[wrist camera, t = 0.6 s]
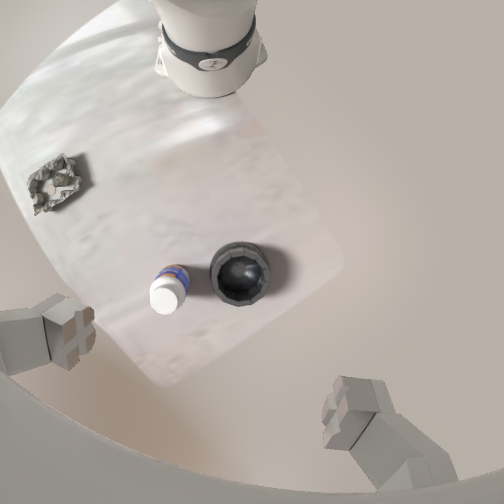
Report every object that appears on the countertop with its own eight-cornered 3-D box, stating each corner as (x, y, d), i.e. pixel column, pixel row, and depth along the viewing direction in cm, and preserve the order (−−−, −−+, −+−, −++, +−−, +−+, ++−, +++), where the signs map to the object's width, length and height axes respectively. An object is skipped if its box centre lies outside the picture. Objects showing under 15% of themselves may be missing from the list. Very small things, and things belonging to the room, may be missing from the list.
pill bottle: (181, 258, 47) (171, 275, 38) (195, 287, 49) (190, 310, 39) (153, 272, 47) (138, 291, 38) (168, 299, 49) (157, 324, 39)
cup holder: (205, 246, 47) (203, 252, 42) (264, 237, 48) (268, 243, 43) (215, 301, 49) (214, 313, 44) (270, 292, 50) (275, 303, 45)
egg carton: (44, 216, 43) (32, 218, 39) (33, 180, 42) (21, 180, 38) (87, 189, 43) (76, 190, 39) (74, 152, 42) (63, 149, 38)
